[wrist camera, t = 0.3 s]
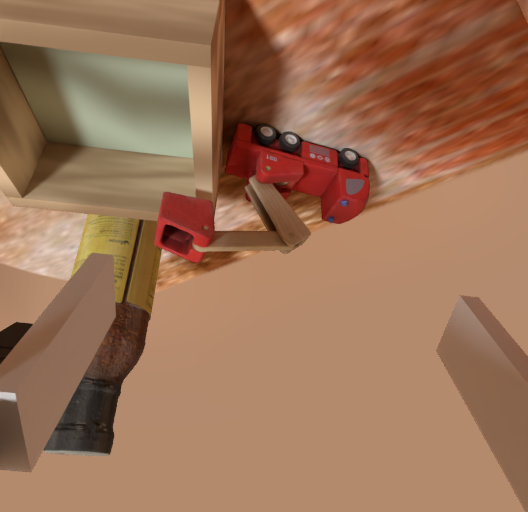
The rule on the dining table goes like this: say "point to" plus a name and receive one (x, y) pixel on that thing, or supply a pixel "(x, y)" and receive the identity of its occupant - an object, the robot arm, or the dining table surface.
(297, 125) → the dining table surface
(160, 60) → the caddy
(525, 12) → the salt shaker
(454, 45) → the dining table surface
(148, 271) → the sauce bottle
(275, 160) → the toy fire truck
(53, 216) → the dining table surface
